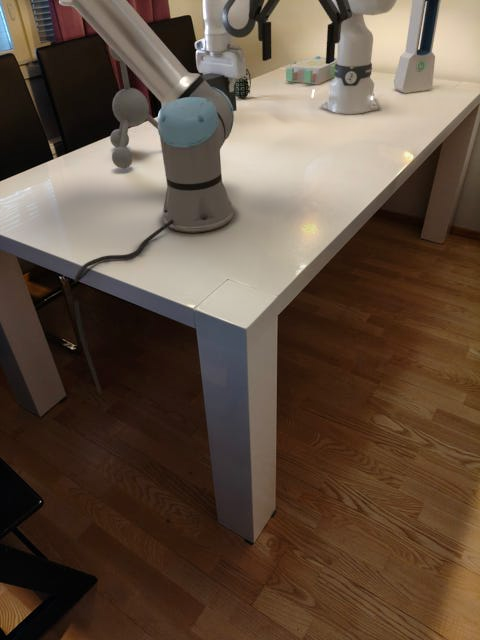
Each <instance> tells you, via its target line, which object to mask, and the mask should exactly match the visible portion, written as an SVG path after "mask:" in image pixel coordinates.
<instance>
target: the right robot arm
mask: <svg viewBox="0 0 480 640" xmlns="http://www.w3.org/2000/svg"><path fill="white" fill-rule="evenodd" d="M201 1H202V5H201V6H202V19H203V22H204V32H203V33H204V37H203V38H201V39H199V40H196V41H195V42H194V48H195V50H196V51H195V64H196V69H197V71H198V74H203V75H205V74H209V73H213V74H220V75H224V76H225V77H228V79H229V81H230V83H229V86H227V91H228V92H233V91H234V84H235V82H236V79H240V78H244V77H246V76H247V75H246V69H247V67H246V59H245V55H244V50H243V49H242V47H241V46H240V45H236V44H235V45H234V40H233V39H234V38H236V39H237V38H245V37H247V36H249V35H250V34H251V33H252V32H253V31H254V28H255V27H256V26H258V23H257V21H255V20H253V19H250V18H249V12H250V9H251V6H252V3H253V0H201ZM332 1H333V3H334V4H335V6H336V7H337V9H338V11H339V8H338V5H337V2H336V0H332ZM348 2H349V5H350V8H351V11H352V17H351V18H349V19H347V20H344V21H343V22H342V24H341V36H340V41H339V43H337V48H336V49H337V50H336V51H337V53H336V54H337V55H336V58H337V63H336V64H335V77H333V78H332V80H331V81H330V82H329V86H328V95H327V97H328V98H327V101H326V102H325V103H324V104H322V109H324V110H328V111H330V112H333V113H336V114H343V115H357V114H363V113H368V112H371V111H377V110H379V106H378V104H377V100H376V99H375V98H374V97H375V93H374V92H375V91H374V90H375V82H374V81H373V80H372V78H371V75H372V71H373V63H372V55H373V45H374V36H373V35H374V34H373V32H372V31H370V29H369V28H368V26H367V25H366V22H365V18H364V16H377V15H383V14H387V13H390V11H391V10H392V9H393V8H394V6H395V5H396V3H397V0H348ZM262 9H263V8H262ZM262 9H261V11H262ZM339 12H340V11H339ZM233 37H234V38H233ZM314 94H315V89H312V93H311V98H312V99H313V98H314Z"/></svg>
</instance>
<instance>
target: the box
mask: <svg viewBox="0 0 480 640" xmlns="http://www.w3.org/2000/svg"><path fill="white" fill-rule="evenodd" d="M200 75H201V76H202V77H203V78H204V80H205V81H206V82H207V83H208V84H209V85H210V87H213V88H216V89H219V90H220V91H222V92H223V93H224V94H225V95H226V96H227V97H228V99H229V100H230V102H231V104H232V107H233V111H234V112H236V111H237V97H236V90H235V84H234V91H233V92H228V91H227V86H229V83H230V81H229V79H228V77H225V76H224V75H220V74H213V73H209V74H200Z"/></svg>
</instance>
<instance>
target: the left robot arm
mask: <svg viewBox="0 0 480 640" xmlns="http://www.w3.org/2000/svg"><path fill="white" fill-rule="evenodd" d="M56 1H57V2H58V3H59V5H60V6H64V7H73V8H74V9H75V10H76V11H77V12H78V13H79V14H80V16H81V17H82V18H83V19H84V20H85V21H86V23H88V24H89V26H91V28H92V29H93V30H94V31H95V32H96V33H97V34H98V35H99V36H100V37H101V38H102V40H103V41H104V42H105V43H106V44H107V45H108V47H109V46H110V47H111V48H112V49H113V50H114V51H115V53H116V54H117V55H118V56H119V57H120V58H121V59H122V60H123V61H124V62H125V64H126V67H127V68H129V69H130V70H131V71H132V72H133V74H134V75H135V76H136V77H137V78H138V79H139V80H140V81H141V82H142V83H143V85H145V86H146V88H147V89H148V90H149V91H150V92H151V93H152V94H153V95H154V96H155V98H156V99H157V100H158V101H159V102H160V104H161V108H160V110H159V111H158V115H157V122H158V129H157V132H158V135H159V140H160V147H161V153H162V159H163V168H164V174H165V180H166V190H165V191H166V192H165V196H164V203H163V207H162V218H163V222H164V225H162V226H160V227H159V228H158V229H157V230H155V231H154V232H153V233H151V234H150V235H149V236H147V237H146V238H145V239H143V240H142V242H141V243H140V244H139V246H138V247H137V249H136V250H134V251H132V252H130V253H127V254H111V255H110V254H109V255H103V256H100V257H97V258H95V259H91V260H89V261H87V262H85V263H84V264H83V265H82V266H81V267H80V268H79V269H78V271H77V273H76V275H75V278H74V282H75V283H77V282H79V281H80V279H81V277H82V275H83V273H84V272H85V270H87V268H89V267H90V266H92V265H94V264H97V263H101V262H104V261H107V260H125V259H129V258H132V257H135V256H137V255H139V254H140V253H141V252H142V251H143V248H144V247H145V245H147V243H149V242H150V241H152V240H153V239H154V238H155V237H156V236H158V235H159V234H161V233H162V232H163V231H164V230H166V229H167V228H169V229H171V230H173V231H177V232H180V233H190V234H191V233H192V234H193V233H194V234H195V233H196V234H197V233H205V232H206V233H207V232H210V231H215V230H216V229H220V228H222V227H224V226H226V225H227V224H228V223H230V221H231V220H232V218H233V216H234V212H233V211H234V210H233V205H232V201H231V200H230V197H229V195H228V192H227V190H226V187H225V184H224V182H223V175H222V174H223V173H222V161H221V148H222V147H223V145H224V144H225V142H226V140H227V139H228V138H229V137H230V134H231V133H232V130H233V125H234V121H235V120H234V119H235V111H233V107H232V104H231V102H230V100H229V99H228V97H227V96H226V95H225V94H224V93H223V92H222V91H220V90H219V89H216V88H213V87H210V85H209V84H208V83H207V82H206V81H205V80H204V78H203V77H202V76H201V75H202V74H201V73H194V72H193V73H192V72H189V71H188V70H187V68H186V67H184V65H183V64H182V62H180V60H179V59H178V58H177V57H176V56H175V55H174V53H172V51H171V50H170V49H169V48H168V47H167V45H165V43H164V42H163V41H162V40H161V38H160V37H159V36H158V35H157V34H156V33H155V31H154V30H153V29H152V28H151V27H150V26H149V25H148V24H147V22H146V21H145V20H144V19H143V17H141V16H140V14H139V13H138V12H137V11H136V10H135V8H134V7H133V6H132V5H131V4H130V3H129V2H128V0H56ZM265 1H266V0H253V3H252V6H251V9H250V12H249V18H250V19H253V20H255V21H257V23H258V24H257V37H258V38H257V39H258V41H259V42H261V47H262V48H261V56H262V59H261V61H262V62H267V61H269V60H271V59H272V21H269V18H270V17H271V15H272V14H273V12H274V10H275V9H276V7H277V5H278V4H279V3H280V1H281V0H267V1H266V3H265ZM317 1H318V3H319V4H320V5H321V7H322V9H323V10H324V12H325V13H326V15H327V16H328V18H329V20H330V22H331V23H329V24H327V32H326V33H327V34H326V49H325V51H326V52H325V58H326V64H330V63H332V62H334V58H335V54H336V53H335V52H336V45H338V43H339V41H340V36H341V24H342V22H343V21H344V20H347V19H349V18H351V17H352V11H351V8H350V5H349V2H348V0H336V2H337V5H338V8H339V11H340V12H339V11H338V9H337V7H336V6H335V4H334V3H333V1H332V0H317ZM264 3H265V4H264ZM261 9H262V11H261ZM73 303H74V311H75V318H76V325H77V329H78V334H79V338H80V341H81V346H82V348H83V351H84V354H85V357H86V360H87V363H88V365H89V370H90V372H91V374H92V378H93V380H94V384H95V387H96V390H97V393H98V394H101V393H102V388H101V385H100V382H99V381H100V380H99V377H98V374H97V372H96V369H95V366H94V364H93V360H92V357H91V354H90V351H89V349H88V344H87V342H86V337H85V333H84V329H83V325H82V318H81V311H80V301H78V300H73Z"/></svg>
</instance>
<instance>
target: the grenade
mask: <svg viewBox="0 0 480 640" xmlns="http://www.w3.org/2000/svg"><path fill="white" fill-rule="evenodd" d="M248 79H249V81H248ZM251 84H252V77H251V73H250V71H249V69H248V68H246V75H245V77H244V78H240V79H236V82H235V90H236V98H237V99H240V100H243V99H246V98H247V97H248V96H249V95H250V93H251Z"/></svg>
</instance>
